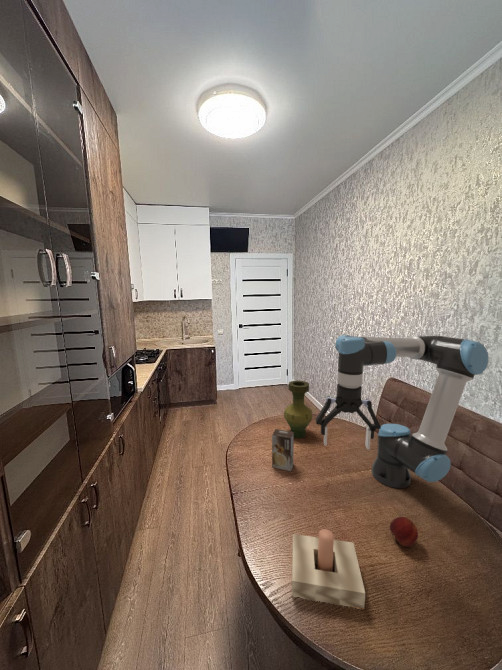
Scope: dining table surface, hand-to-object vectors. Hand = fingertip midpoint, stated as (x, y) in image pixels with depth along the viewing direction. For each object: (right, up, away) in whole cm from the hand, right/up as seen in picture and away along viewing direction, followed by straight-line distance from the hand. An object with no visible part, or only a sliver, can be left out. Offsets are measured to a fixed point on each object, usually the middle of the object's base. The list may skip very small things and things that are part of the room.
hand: (346, 445), depth 90 cm
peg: (-11, -31, -14) cm, 36 cm away
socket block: (-11, -31, -14) cm, 36 cm away
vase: (-5, -20, +63) cm, 67 cm away
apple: (+17, -30, -4) cm, 34 cm away
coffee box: (-17, -24, +35) cm, 46 cm away
